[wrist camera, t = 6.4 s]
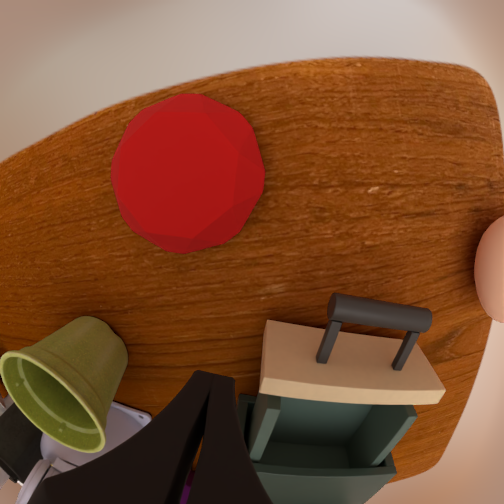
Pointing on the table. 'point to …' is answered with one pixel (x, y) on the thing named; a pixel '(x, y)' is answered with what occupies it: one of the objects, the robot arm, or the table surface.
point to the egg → (491, 270)
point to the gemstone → (187, 173)
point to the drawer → (340, 387)
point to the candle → (18, 445)
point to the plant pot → (68, 382)
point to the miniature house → (2, 402)
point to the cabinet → (316, 476)
